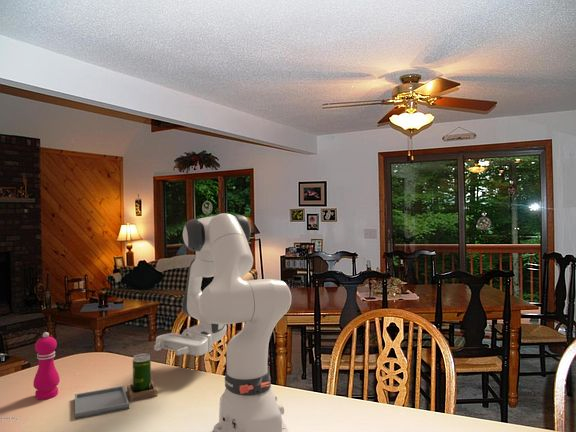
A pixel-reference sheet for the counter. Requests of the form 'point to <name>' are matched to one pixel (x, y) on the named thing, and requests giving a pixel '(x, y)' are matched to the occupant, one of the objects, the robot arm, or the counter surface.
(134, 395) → the can holder
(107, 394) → the tray
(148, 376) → the beer can
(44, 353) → the pepper mill
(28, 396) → the counter surface
